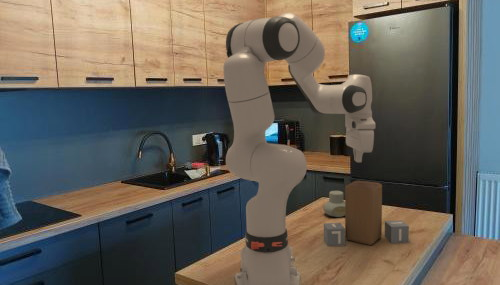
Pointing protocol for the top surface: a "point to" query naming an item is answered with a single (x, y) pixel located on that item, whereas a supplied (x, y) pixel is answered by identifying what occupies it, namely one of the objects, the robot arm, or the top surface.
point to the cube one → (396, 231)
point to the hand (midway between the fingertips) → (358, 161)
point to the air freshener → (335, 204)
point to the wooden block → (363, 212)
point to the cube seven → (334, 234)
